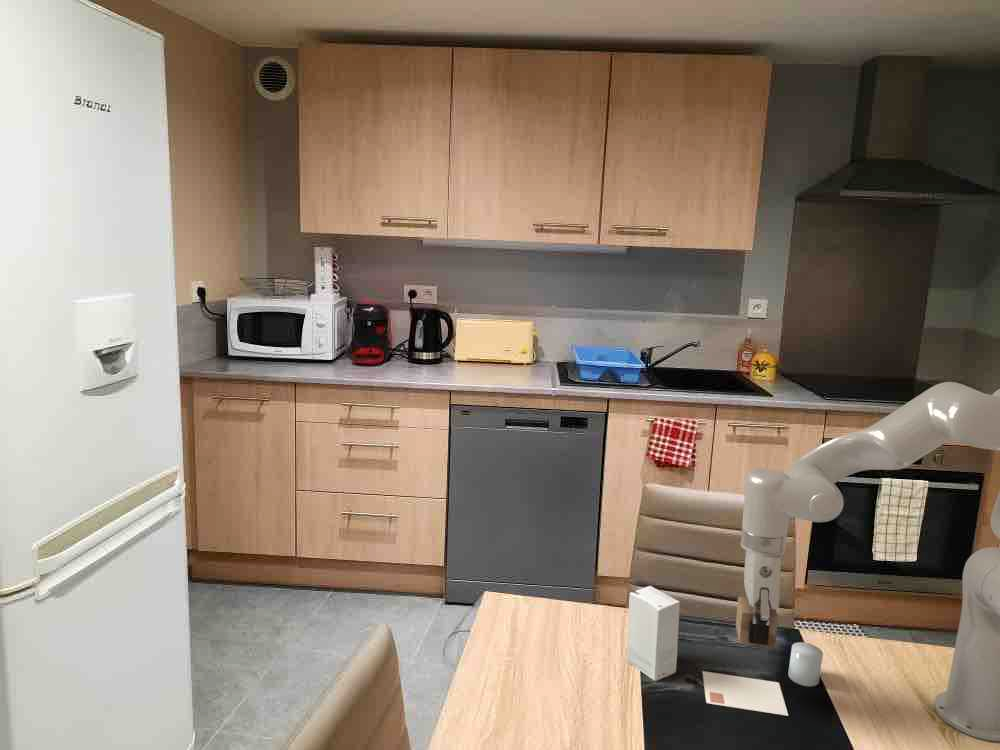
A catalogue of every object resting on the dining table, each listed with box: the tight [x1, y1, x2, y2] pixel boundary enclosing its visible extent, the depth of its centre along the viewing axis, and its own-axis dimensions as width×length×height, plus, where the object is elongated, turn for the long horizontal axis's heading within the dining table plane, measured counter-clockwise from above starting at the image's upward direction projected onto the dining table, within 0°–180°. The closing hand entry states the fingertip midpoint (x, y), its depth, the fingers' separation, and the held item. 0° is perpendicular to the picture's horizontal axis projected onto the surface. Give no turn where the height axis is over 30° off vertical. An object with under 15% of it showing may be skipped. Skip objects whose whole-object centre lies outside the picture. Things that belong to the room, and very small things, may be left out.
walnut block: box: [735, 596, 779, 648], centre depth 135 cm, size 6×6×6 cm
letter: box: [701, 670, 789, 717], centre depth 138 cm, size 14×10×1 cm
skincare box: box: [625, 585, 681, 682], centre depth 144 cm, size 8×6×15 cm
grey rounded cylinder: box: [787, 641, 824, 687], centre depth 143 cm, size 6×6×6 cm
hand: (755, 632), depth 136 cm, fingers closed on walnut block, 6 cm apart
